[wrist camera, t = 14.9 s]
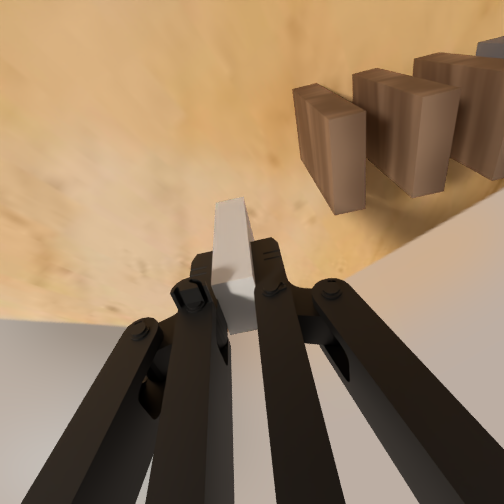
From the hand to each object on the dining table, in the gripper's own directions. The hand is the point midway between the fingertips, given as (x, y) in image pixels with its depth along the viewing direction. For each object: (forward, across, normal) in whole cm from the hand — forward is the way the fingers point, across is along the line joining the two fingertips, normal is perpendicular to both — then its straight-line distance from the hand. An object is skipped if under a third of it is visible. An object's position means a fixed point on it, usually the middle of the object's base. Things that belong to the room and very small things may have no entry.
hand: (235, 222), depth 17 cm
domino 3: (+14, +17, 0) cm, 22 cm away
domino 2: (+14, +12, 0) cm, 18 cm away
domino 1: (+14, +7, 0) cm, 15 cm away
